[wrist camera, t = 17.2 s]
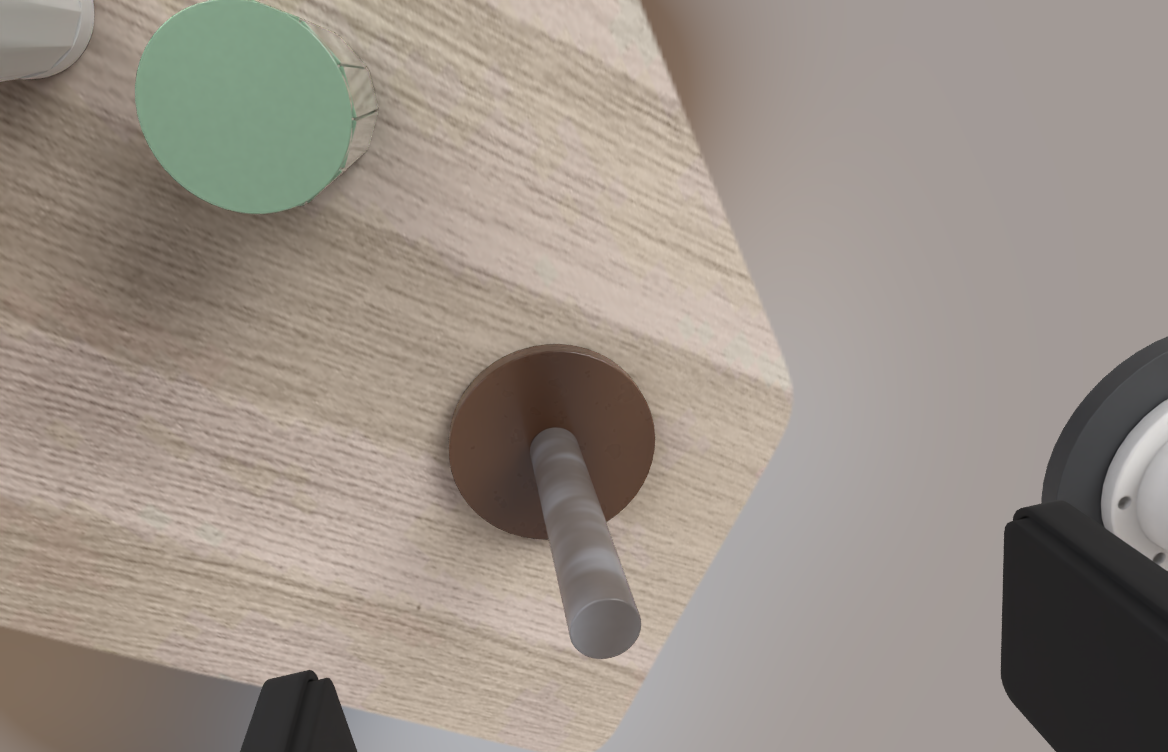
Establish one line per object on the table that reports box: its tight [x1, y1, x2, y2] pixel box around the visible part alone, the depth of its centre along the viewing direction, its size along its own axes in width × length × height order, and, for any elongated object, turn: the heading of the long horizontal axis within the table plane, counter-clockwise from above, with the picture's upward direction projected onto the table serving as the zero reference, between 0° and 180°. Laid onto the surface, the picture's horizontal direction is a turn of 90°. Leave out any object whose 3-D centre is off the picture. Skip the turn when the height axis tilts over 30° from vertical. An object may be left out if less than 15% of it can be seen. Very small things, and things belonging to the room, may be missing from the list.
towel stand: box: [449, 344, 655, 659], centre depth 36 cm, size 11×11×16 cm
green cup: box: [135, 0, 378, 214], centre depth 31 cm, size 7×7×10 cm
